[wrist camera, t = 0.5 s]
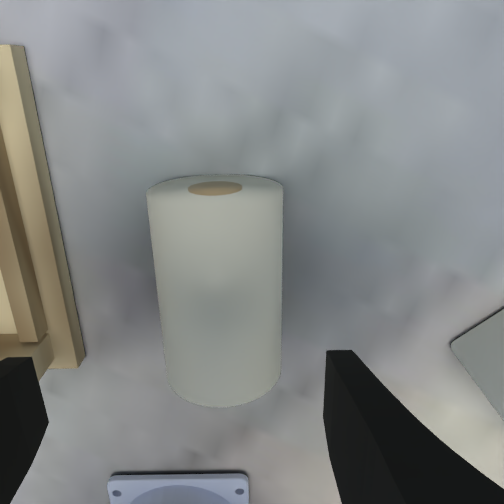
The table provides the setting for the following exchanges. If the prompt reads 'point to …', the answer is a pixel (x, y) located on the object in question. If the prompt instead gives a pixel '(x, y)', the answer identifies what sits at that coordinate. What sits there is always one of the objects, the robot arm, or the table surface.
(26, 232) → the beige wooden frame
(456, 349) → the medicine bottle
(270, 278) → the roll
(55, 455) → the table surface
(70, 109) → the table surface
